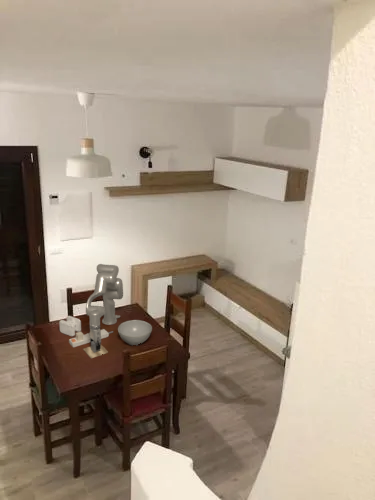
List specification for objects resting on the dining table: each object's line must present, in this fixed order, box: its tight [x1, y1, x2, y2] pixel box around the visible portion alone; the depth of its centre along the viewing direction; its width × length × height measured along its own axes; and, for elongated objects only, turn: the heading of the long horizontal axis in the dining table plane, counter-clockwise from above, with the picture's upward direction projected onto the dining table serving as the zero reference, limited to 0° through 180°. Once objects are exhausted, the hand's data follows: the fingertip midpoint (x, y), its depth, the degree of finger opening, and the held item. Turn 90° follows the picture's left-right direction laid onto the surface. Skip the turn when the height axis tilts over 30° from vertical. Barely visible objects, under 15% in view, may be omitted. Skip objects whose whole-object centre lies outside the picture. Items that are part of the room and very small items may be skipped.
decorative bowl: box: [117, 319, 153, 346], centre depth 324 cm, size 27×27×12 cm
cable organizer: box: [58, 315, 82, 337], centre depth 332 cm, size 15×11×12 cm
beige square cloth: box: [82, 344, 109, 359], centre depth 310 cm, size 14×14×1 cm
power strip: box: [68, 328, 114, 348], centre depth 325 cm, size 36×8×8 cm, turn 127°
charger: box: [90, 340, 100, 353], centre depth 308 cm, size 5×5×8 cm
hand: (95, 346), depth 308 cm, fingers open, 9 cm apart
